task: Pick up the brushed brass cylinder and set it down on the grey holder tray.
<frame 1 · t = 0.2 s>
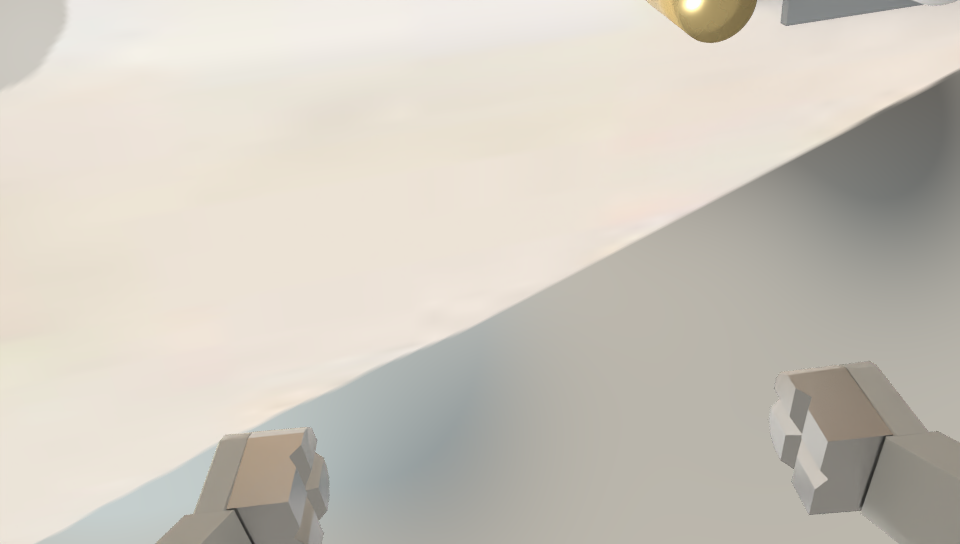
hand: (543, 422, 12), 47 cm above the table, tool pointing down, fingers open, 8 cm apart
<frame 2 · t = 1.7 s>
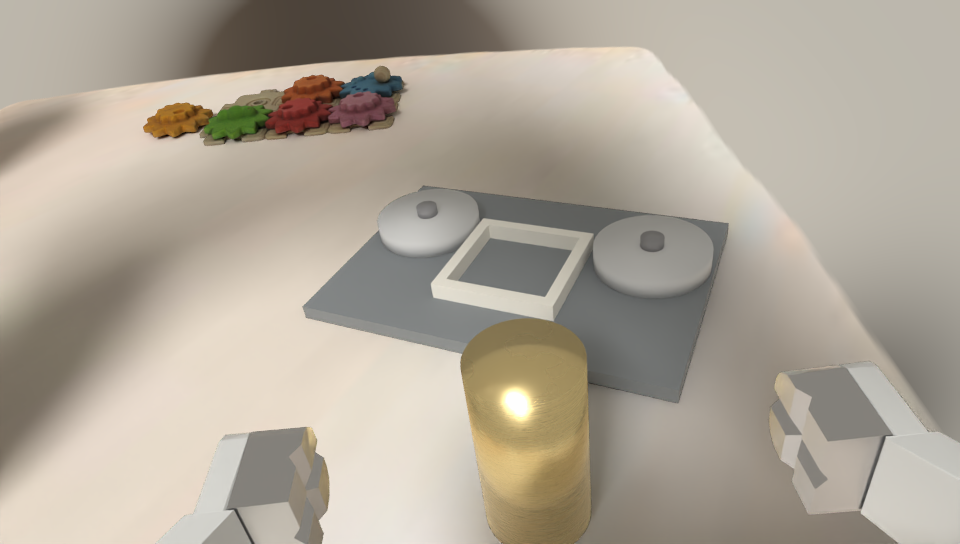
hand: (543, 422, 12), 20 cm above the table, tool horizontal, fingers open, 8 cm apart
grey holder tray: (522, 275, 50), on the table
gear puzzle: (277, 119, 83), on the table
brushed brass cylinder: (538, 507, 34), on the table
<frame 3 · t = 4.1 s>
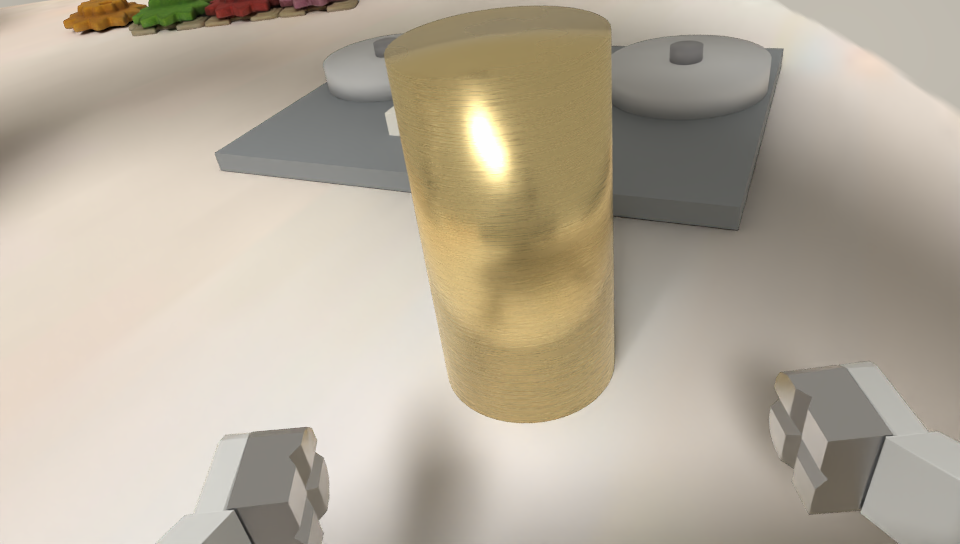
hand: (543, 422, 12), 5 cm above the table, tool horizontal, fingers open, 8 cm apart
grey holder tray: (510, 116, 37), on the table
gear puzzle: (223, 15, 71), on the table
brushed brass cylinder: (529, 360, 21), on the table
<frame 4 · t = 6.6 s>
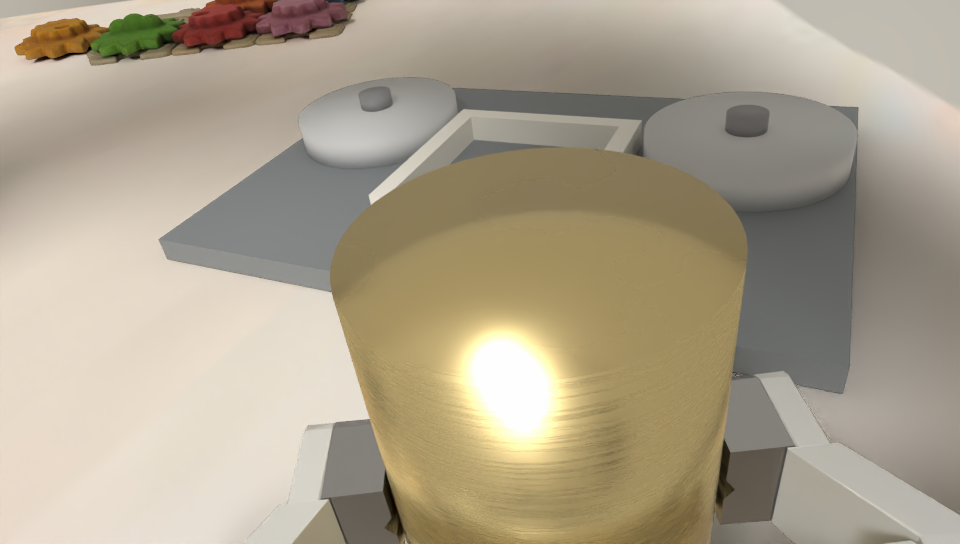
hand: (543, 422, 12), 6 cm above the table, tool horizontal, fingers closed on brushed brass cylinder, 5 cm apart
grey holder tray: (524, 190, 31), on the table
gear puzzle: (195, 39, 64), on the table
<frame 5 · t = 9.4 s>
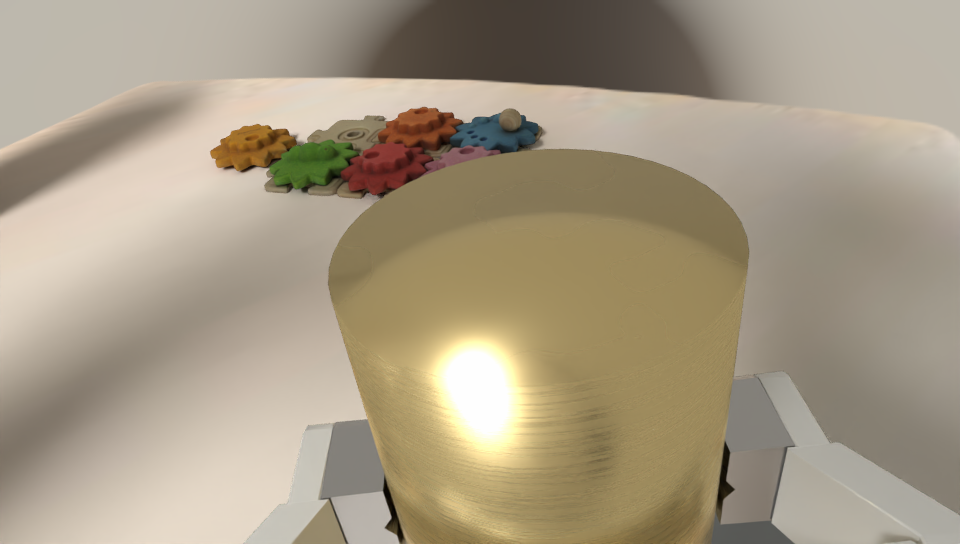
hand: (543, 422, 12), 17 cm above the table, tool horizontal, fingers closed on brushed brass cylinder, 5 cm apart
gear puzzle: (368, 162, 63), on the table
when the fingers open (7 cm above the table, at t = 12.4 s): brushed brass cylinder stays where it is, resting on grey holder tray.
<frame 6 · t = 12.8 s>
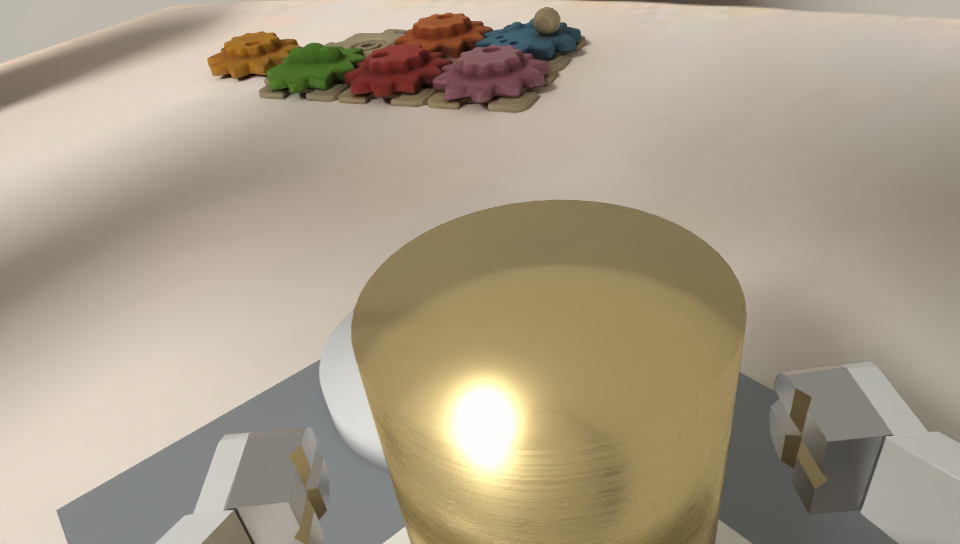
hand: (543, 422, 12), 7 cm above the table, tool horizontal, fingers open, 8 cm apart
gear puzzle: (381, 74, 55), on the table
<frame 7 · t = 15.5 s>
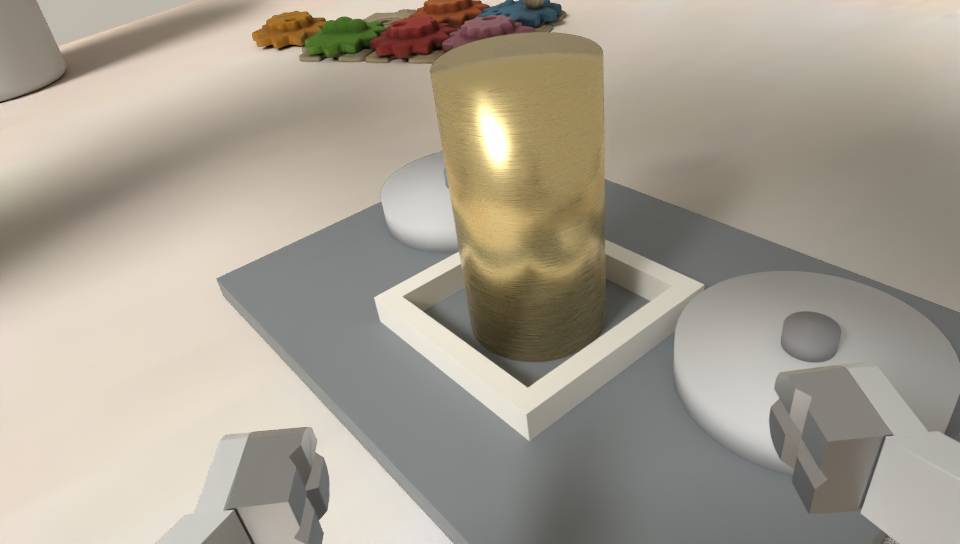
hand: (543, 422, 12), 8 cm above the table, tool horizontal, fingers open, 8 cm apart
grey holder tray: (555, 323, 27), on the table
gear puzzle: (398, 43, 66), on the table
brushed brass cylinder: (537, 315, 26), point 1 cm above the table, touching grey holder tray
cylinder vase: (3, 89, 68), on the table
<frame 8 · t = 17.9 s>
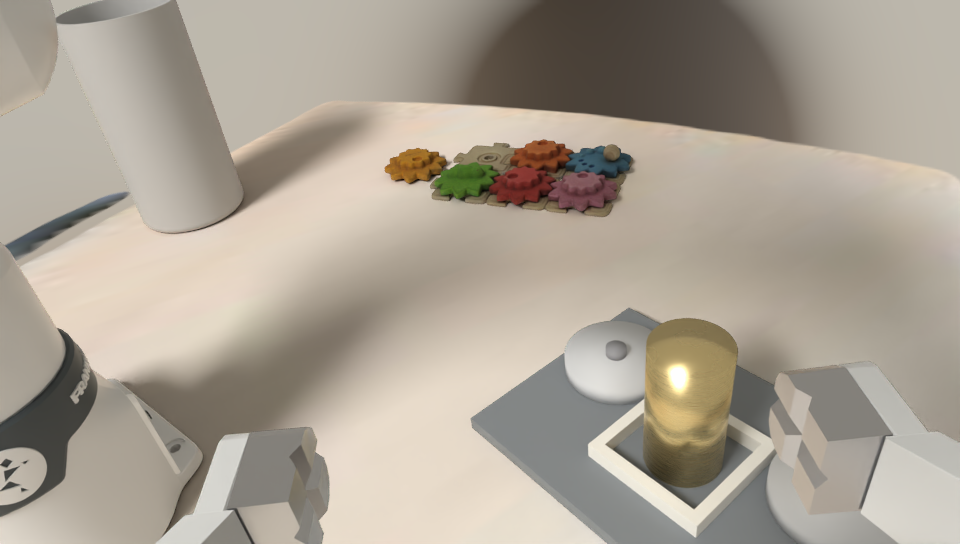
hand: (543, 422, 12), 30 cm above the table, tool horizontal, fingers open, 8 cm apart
grey holder tray: (689, 457, 47), on the table
gear puzzle: (502, 179, 86), on the table
brushed brass cylinder: (682, 455, 46), point 1 cm above the table, touching grey holder tray
cylinder vase: (196, 211, 87), on the table
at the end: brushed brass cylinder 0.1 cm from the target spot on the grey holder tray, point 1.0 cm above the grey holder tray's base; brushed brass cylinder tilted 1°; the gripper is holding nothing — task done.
